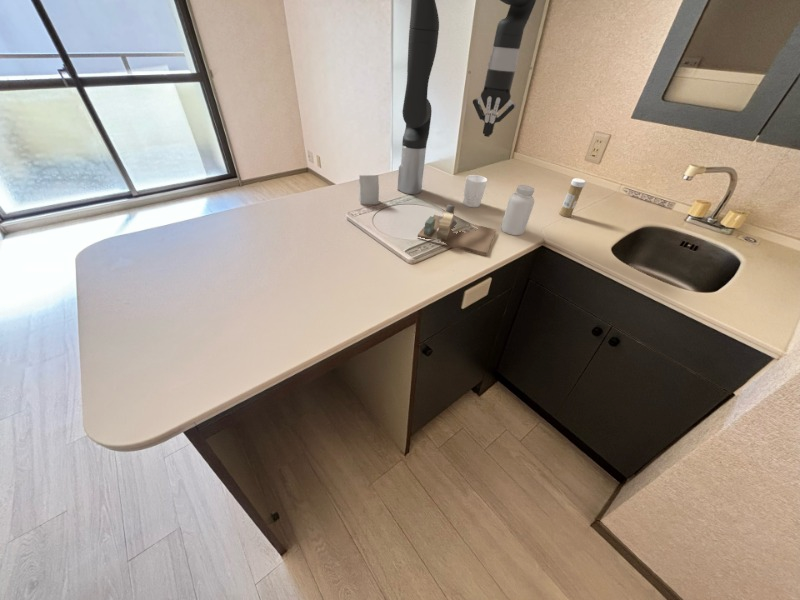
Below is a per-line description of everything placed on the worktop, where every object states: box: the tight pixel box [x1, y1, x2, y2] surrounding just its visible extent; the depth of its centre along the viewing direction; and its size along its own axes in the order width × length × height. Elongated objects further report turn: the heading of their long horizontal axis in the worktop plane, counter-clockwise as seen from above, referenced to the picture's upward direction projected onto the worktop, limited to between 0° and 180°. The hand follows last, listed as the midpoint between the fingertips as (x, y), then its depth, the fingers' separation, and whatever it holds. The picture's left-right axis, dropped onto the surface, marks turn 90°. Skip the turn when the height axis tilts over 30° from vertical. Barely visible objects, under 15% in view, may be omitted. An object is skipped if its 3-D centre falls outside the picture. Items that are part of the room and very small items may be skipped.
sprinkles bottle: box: [558, 177, 586, 218], centre depth 122 cm, size 5×5×14 cm
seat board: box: [417, 214, 497, 257], centre depth 105 cm, size 22×17×5 cm
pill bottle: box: [500, 184, 535, 236], centre depth 107 cm, size 8×8×15 cm
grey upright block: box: [358, 174, 380, 205], centre depth 119 cm, size 4×7×10 cm, turn 103°
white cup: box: [462, 174, 488, 208], centre depth 125 cm, size 8×8×10 cm
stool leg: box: [437, 204, 455, 240], centre depth 104 cm, size 15×3×5 cm, turn 165°
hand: (486, 136), depth 101 cm, fingers closed
